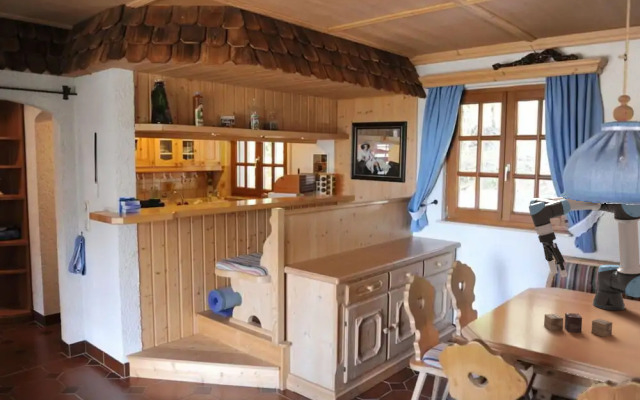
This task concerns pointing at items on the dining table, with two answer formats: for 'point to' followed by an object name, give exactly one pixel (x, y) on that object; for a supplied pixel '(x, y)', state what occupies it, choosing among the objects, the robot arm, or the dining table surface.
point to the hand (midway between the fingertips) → (559, 275)
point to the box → (573, 322)
